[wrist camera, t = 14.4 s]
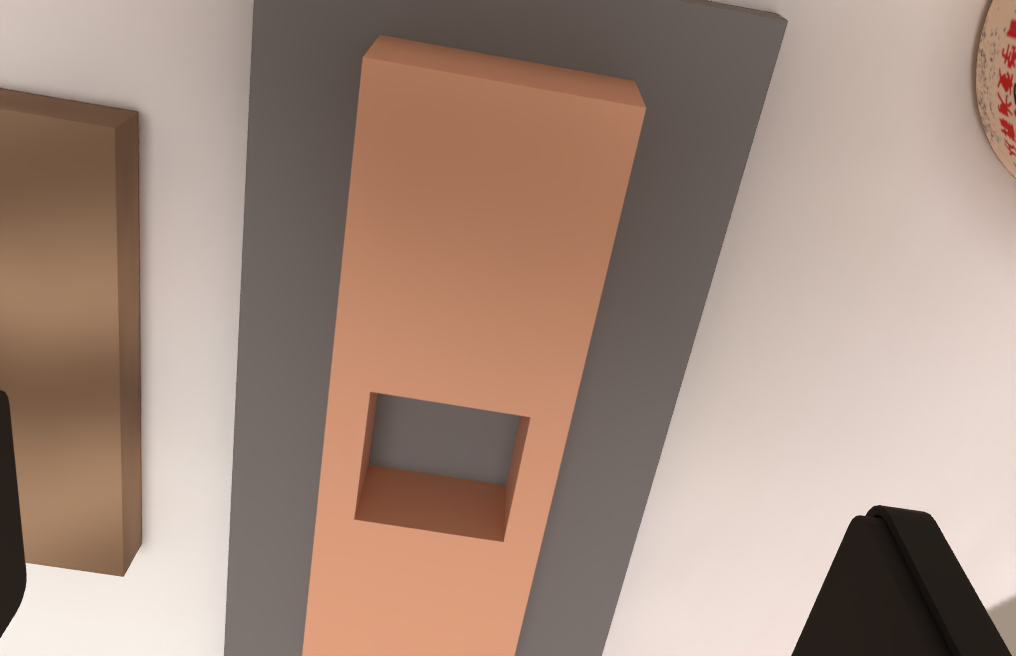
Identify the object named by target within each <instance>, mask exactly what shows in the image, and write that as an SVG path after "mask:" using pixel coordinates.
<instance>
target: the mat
mask: <svg viewBox="0 0 1016 656" xmlns="http://www.w3.org/2000/svg"><path fill="white" fill-rule="evenodd" d="M787 22H788V21H787V20H786V19H784V18H783V17H781V16H780V15H779V14H776V13H770V12H765V11H759V10H754V9H749V8H743V7H738V6H732V5H727V4H721V3H716V2H710V1H705V0H254V9H253V31H252V53H251V75H250V97H249V119H248V141H247V163H246V185H245V207H244V229H243V251H242V273H241V294H240V316H239V338H238V360H237V382H236V404H235V426H234V448H233V470H232V492H231V514H230V536H229V558H228V580H227V602H226V624H225V646H224V656H302V652H303V642H304V633H305V623H306V613H307V603H308V593H309V583H310V573H311V563H312V553H313V544H314V534H315V524H316V514H317V504H318V494H319V484H320V474H321V465H322V455H323V445H324V435H325V425H326V415H327V405H328V395H329V386H330V376H331V366H332V356H333V346H334V336H335V326H336V316H337V307H338V297H339V287H340V277H341V267H342V257H343V247H344V237H345V228H346V218H347V208H348V198H349V188H350V178H351V168H352V158H353V148H354V139H355V129H356V119H357V109H358V99H359V89H360V79H361V69H362V60H363V56H364V55H365V54H366V52H367V51H368V50H369V48H370V47H371V46H372V44H373V43H374V42H375V40H376V39H377V38H378V37H379V35H384V36H389V37H395V38H401V39H406V40H412V41H417V42H423V43H428V44H434V45H439V46H445V47H450V48H456V49H461V50H467V51H472V52H478V53H484V54H489V55H495V56H500V57H506V58H511V59H517V60H522V61H528V62H533V63H539V64H544V65H550V66H555V67H561V68H567V69H572V70H578V71H583V72H589V73H594V74H600V75H605V76H611V77H616V78H622V79H627V80H633V81H635V82H636V84H637V87H638V89H639V92H640V94H641V96H642V99H643V101H644V104H645V106H646V111H645V115H644V120H643V124H642V128H641V132H640V136H639V140H638V145H637V149H636V153H635V157H634V161H633V165H632V169H631V174H630V178H629V182H628V186H627V190H626V194H625V199H624V203H623V207H622V211H621V215H620V219H619V223H618V228H617V232H616V236H615V240H614V244H613V248H612V253H611V257H610V261H609V265H608V269H607V273H606V277H605V282H604V286H603V290H602V294H601V298H600V302H599V307H598V311H597V315H596V319H595V323H594V327H593V331H592V336H591V340H590V344H589V348H588V352H587V356H586V361H585V365H584V369H583V373H582V377H581V381H580V385H579V390H578V394H577V398H576V402H575V406H574V410H573V415H572V419H571V423H570V427H569V431H568V435H567V439H566V444H565V448H564V452H563V456H562V460H561V464H560V469H559V473H558V477H557V481H556V485H555V489H554V494H553V498H552V502H551V506H550V510H549V514H548V518H547V523H546V527H545V531H544V535H543V539H542V543H541V548H540V552H539V556H538V560H537V564H536V568H535V572H534V577H533V581H532V585H531V589H530V593H529V597H528V602H527V606H526V610H525V614H524V618H523V622H522V626H521V631H520V635H519V639H518V643H517V647H516V651H515V656H602V653H603V649H604V646H605V642H606V639H607V636H608V632H609V629H610V625H611V622H612V619H613V615H614V612H615V608H616V605H617V602H618V598H619V595H620V591H621V588H622V585H623V581H624V578H625V574H626V571H627V568H628V564H629V561H630V557H631V554H632V550H633V547H634V544H635V540H636V537H637V533H638V530H639V527H640V523H641V520H642V516H643V513H644V510H645V506H646V503H647V499H648V496H649V493H650V489H651V486H652V482H653V479H654V476H655V472H656V469H657V465H658V462H659V459H660V455H661V452H662V448H663V445H664V441H665V438H666V435H667V431H668V428H669V424H670V421H671V418H672V414H673V411H674V407H675V404H676V401H677V397H678V394H679V390H680V387H681V384H682V380H683V377H684V373H685V370H686V367H687V363H688V360H689V356H690V353H691V350H692V346H693V343H694V339H695V336H696V332H697V329H698V326H699V322H700V319H701V315H702V312H703V309H704V305H705V302H706V298H707V295H708V292H709V288H710V285H711V281H712V278H713V275H714V271H715V268H716V264H717V261H718V258H719V254H720V251H721V247H722V244H723V241H724V237H725V234H726V230H727V227H728V223H729V220H730V217H731V213H732V210H733V206H734V203H735V200H736V196H737V193H738V189H739V186H740V183H741V179H742V176H743V172H744V169H745V166H746V162H747V159H748V155H749V152H750V149H751V145H752V142H753V138H754V135H755V131H756V128H757V125H758V121H759V118H760V114H761V111H762V108H763V104H764V101H765V97H766V94H767V91H768V87H769V84H770V80H771V77H772V74H773V70H774V67H775V63H776V60H777V57H778V53H779V50H780V46H781V43H782V40H783V36H784V33H785V29H786V26H787ZM519 421H520V415H514V414H507V413H501V412H495V411H488V410H482V409H476V408H470V407H463V406H457V405H451V404H444V403H438V402H432V401H426V400H419V399H413V398H407V397H400V396H394V395H388V394H381V393H378V396H377V403H376V411H375V419H374V427H373V434H372V442H371V450H370V458H369V465H376V466H382V467H389V468H395V469H402V470H408V471H414V472H421V473H427V474H434V475H440V476H447V477H453V478H460V479H466V480H473V481H479V482H486V483H492V484H499V485H505V486H506V483H507V478H508V473H509V468H510V464H511V459H512V454H513V450H514V445H515V440H516V435H517V431H518V426H519Z"/></svg>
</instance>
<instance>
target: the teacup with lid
mask: <svg viewBox="0 0 1016 656" xmlns="http://www.w3.org/2000/svg"><path fill="white" fill-rule="evenodd" d="M976 91H977V102H978V107H979V112H980V117H981V121H982V124H983V127H984V130H985V133H986V135H987V138H988V140H989V142H990V144H991V146H992V148H993V150H994V151H995V153H996V155H997V156H998V158H999V159H1000V161H1001V162H1002V163H1003V165H1004V166H1005V167H1006V168H1007V170H1008V171H1009V172H1010V173H1011V174H1012V175H1013V176H1014V177H1015V178H1016V0H993V1H992V4H991V6H990V9H989V11H988V14H987V17H986V21H985V24H984V27H983V30H982V35H981V39H980V44H979V49H978V57H977V66H976Z"/></svg>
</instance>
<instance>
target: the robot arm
mask: <svg viewBox="0 0 1016 656" xmlns="http://www.w3.org/2000/svg"><path fill="white" fill-rule="evenodd" d="M25 588H26V564H25V554H24V544H23V534H22V524H21V514H20V504H19V494H18V484H17V474H16V464H15V454H14V444H13V434H12V424H11V414H10V404H9V399H8V396H7V394H6V392H4V391H2V390H0V638H1V636H2V634H3V633H4V631H5V630H6V628H7V626H8V625H9V623H10V622H11V620H12V618H13V617H14V615H15V614H16V612H17V610H18V608H19V606H20V604H21V601H22V599H23V596H24V592H25ZM791 656H1012V655H1011V654H1010V652H1009V650H1008V648H1007V646H1006V645H1005V643H1004V641H1003V639H1002V638H1001V636H1000V634H999V632H998V631H997V629H996V627H995V625H994V623H993V622H992V620H991V618H990V616H989V615H988V613H987V611H986V609H985V608H984V606H983V604H982V602H981V601H980V599H979V597H978V595H977V593H976V592H975V590H974V588H973V586H972V585H971V583H970V581H969V579H968V578H967V576H966V574H965V572H964V571H963V569H962V567H961V565H960V563H959V562H958V560H957V558H956V556H955V555H954V553H953V551H952V549H951V548H950V546H949V544H948V542H947V541H946V539H945V537H944V535H943V533H942V532H941V530H940V528H939V526H938V525H937V523H936V521H935V520H934V519H933V517H932V516H931V515H930V514H928V513H926V512H922V511H916V510H909V509H902V508H895V507H888V506H881V505H878V506H873V507H872V508H871V509H870V510H869V511H868V512H867V514H866V516H861V515H859V516H856V517H855V518H853V519H852V521H851V523H850V524H849V526H848V528H847V531H846V533H845V535H844V538H843V540H842V542H841V544H840V547H839V549H838V551H837V553H836V556H835V558H834V560H833V562H832V565H831V567H830V569H829V572H828V574H827V576H826V578H825V581H824V583H823V585H822V587H821V590H820V592H819V594H818V596H817V599H816V601H815V603H814V606H813V608H812V610H811V612H810V615H809V617H808V619H807V621H806V624H805V626H804V628H803V630H802V633H801V635H800V637H799V640H798V642H797V644H796V646H795V649H794V651H793V653H792V655H791Z"/></svg>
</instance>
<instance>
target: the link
mask: <svg viewBox="0 0 1016 656" xmlns="http://www.w3.org/2000/svg"><path fill="white" fill-rule="evenodd" d="M645 111H646V106H645V104H644V101H643V99H642V96H641V94H640V92H639V89H638V87H637V84H636V82H635V81H633V80H627V79H622V78H616V77H611V76H605V75H600V74H594V73H589V72H583V71H578V70H572V69H567V68H561V67H555V66H550V65H544V64H539V63H533V62H528V61H522V60H517V59H511V58H506V57H500V56H495V55H489V54H484V53H478V52H472V51H467V50H461V49H456V48H450V47H445V46H439V45H434V44H428V43H423V42H417V41H412V40H406V39H401V38H395V37H389V36H384V35H379V37H378V38H377V39H376V40H375V42H374V43H373V44H372V46H371V47H370V48H369V50H368V51H367V52H366V54H365V55H364V56H363V60H362V69H361V79H360V89H359V99H358V109H357V119H356V129H355V139H354V148H353V158H352V168H351V178H350V188H349V198H348V208H347V218H346V228H345V237H344V247H343V257H342V267H341V277H340V287H339V297H338V307H337V316H336V326H335V336H334V346H333V356H332V366H331V376H330V386H329V395H328V405H327V415H326V425H325V435H324V445H323V455H322V465H321V474H320V484H319V494H318V504H317V514H316V524H315V534H314V544H313V553H312V563H311V573H310V583H309V593H308V603H307V613H306V623H305V633H304V642H303V652H302V656H515V651H516V647H517V643H518V639H519V635H520V631H521V626H522V622H523V618H524V614H525V610H526V606H527V602H528V597H529V593H530V589H531V585H532V581H533V577H534V572H535V568H536V564H537V560H538V556H539V552H540V548H541V543H542V539H543V535H544V531H545V527H546V523H547V518H548V514H549V510H550V506H551V502H552V498H553V494H554V489H555V485H556V481H557V477H558V473H559V469H560V464H561V460H562V456H563V452H564V448H565V444H566V439H567V435H568V431H569V427H570V423H571V419H572V415H573V410H574V406H575V402H576V398H577V394H578V390H579V385H580V381H581V377H582V373H583V369H584V365H585V361H586V356H587V352H588V348H589V344H590V340H591V336H592V331H593V327H594V323H595V319H596V315H597V311H598V307H599V302H600V298H601V294H602V290H603V286H604V282H605V277H606V273H607V269H608V265H609V261H610V257H611V253H612V248H613V244H614V240H615V236H616V232H617V228H618V223H619V219H620V215H621V211H622V207H623V203H624V199H625V194H626V190H627V186H628V182H629V178H630V174H631V169H632V165H633V161H634V157H635V153H636V149H637V145H638V140H639V136H640V132H641V128H642V124H643V120H644V115H645ZM378 393H381V394H388V395H394V396H400V397H407V398H413V399H419V400H426V401H432V402H438V403H444V404H451V405H457V406H463V407H470V408H476V409H482V410H488V411H495V412H501V413H507V414H514V415H520V421H519V426H518V431H517V435H516V440H515V445H514V450H513V454H512V459H511V464H510V468H509V473H508V478H507V483H506V486H505V485H499V484H492V483H486V482H479V481H473V480H466V479H460V478H453V477H447V476H440V475H434V474H427V473H421V472H414V471H408V470H402V469H395V468H389V467H382V466H376V465H369V458H370V450H371V442H372V434H373V427H374V419H375V411H376V403H377V396H378Z"/></svg>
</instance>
